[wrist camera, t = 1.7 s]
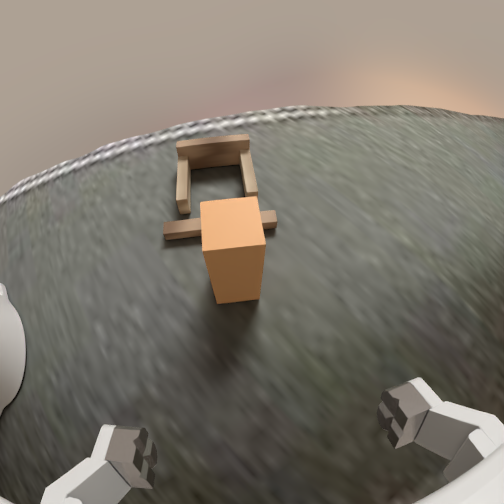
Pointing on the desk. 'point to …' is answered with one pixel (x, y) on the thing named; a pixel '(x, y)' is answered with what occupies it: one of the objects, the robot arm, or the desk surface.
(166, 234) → the door edge strip
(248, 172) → the index bracket
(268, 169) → the desk surface
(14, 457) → the desk surface
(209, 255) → the block
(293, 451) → the desk surface
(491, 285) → the desk surface
